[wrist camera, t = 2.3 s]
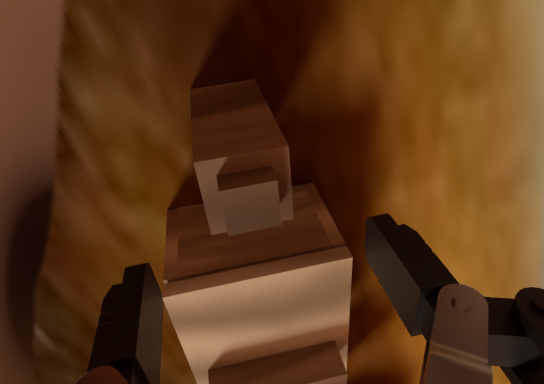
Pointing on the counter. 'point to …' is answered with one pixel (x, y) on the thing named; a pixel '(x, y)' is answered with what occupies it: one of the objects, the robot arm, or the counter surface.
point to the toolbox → (246, 238)
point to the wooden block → (240, 159)
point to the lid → (267, 321)
